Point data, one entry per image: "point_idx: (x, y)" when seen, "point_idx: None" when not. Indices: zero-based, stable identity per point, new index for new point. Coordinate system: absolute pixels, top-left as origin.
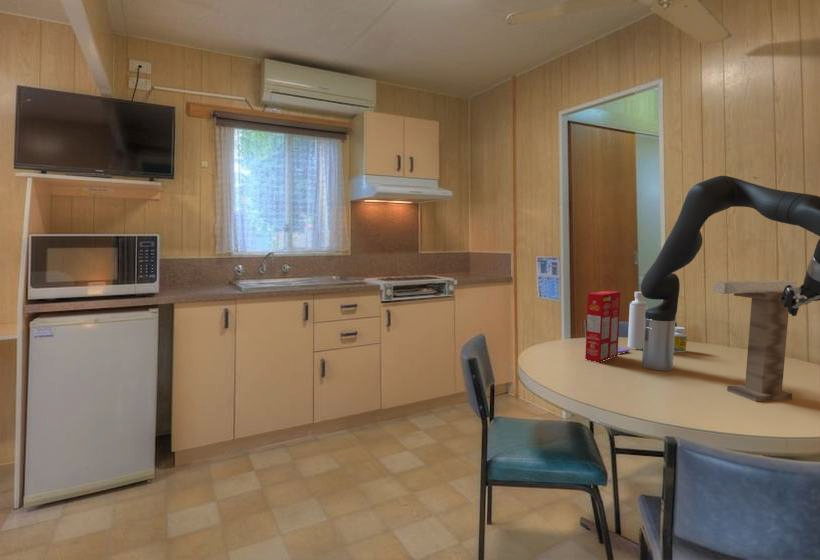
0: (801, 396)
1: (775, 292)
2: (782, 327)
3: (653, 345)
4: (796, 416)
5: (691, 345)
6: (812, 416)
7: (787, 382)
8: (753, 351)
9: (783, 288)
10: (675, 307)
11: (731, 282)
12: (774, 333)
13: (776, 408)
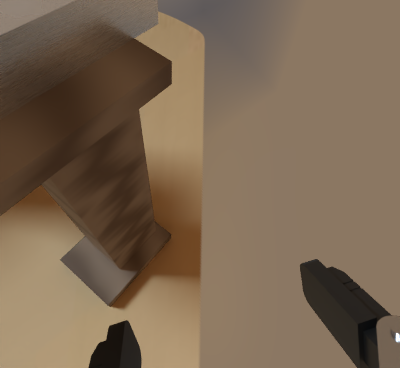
0: (185, 209)
1: (58, 83)
2: (131, 169)
3: None
4: (173, 362)
5: None
6: (198, 336)
7: (169, 138)
8: (78, 224)
9: (95, 38)
10: None
11: None
12: (111, 200)
13: (142, 329)
